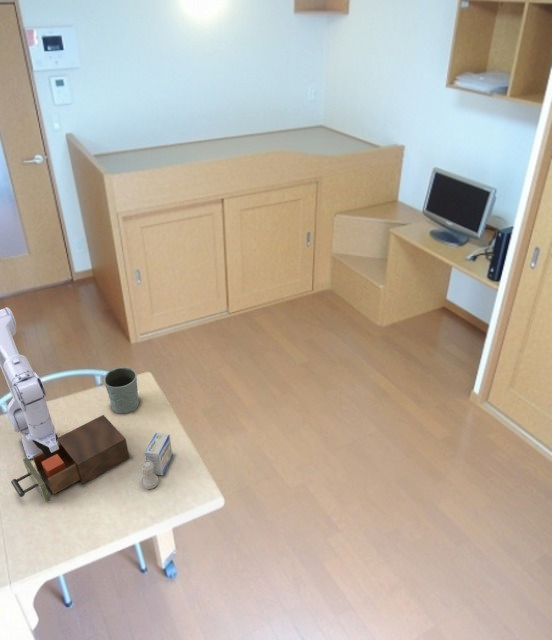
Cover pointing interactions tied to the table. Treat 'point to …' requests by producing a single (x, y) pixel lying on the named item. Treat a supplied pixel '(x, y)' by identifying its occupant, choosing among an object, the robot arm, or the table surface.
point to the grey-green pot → (122, 389)
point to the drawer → (53, 482)
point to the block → (53, 465)
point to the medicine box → (159, 452)
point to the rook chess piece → (149, 475)
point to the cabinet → (95, 447)
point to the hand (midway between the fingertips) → (50, 455)
